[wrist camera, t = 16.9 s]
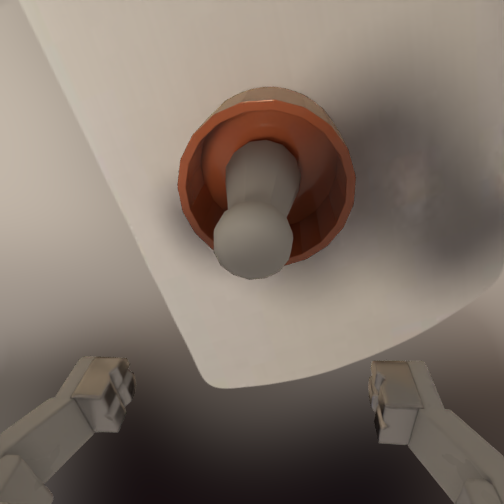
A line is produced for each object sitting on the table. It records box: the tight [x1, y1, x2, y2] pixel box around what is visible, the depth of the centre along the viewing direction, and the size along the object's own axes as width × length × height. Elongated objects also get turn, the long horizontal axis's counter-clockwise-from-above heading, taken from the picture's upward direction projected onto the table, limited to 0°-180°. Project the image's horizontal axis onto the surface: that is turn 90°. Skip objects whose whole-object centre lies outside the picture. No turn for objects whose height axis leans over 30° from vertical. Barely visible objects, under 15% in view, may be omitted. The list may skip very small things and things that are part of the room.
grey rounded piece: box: [214, 140, 301, 280], centre depth 23 cm, size 6×6×13 cm
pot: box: [177, 87, 356, 266], centre depth 27 cm, size 12×12×6 cm
